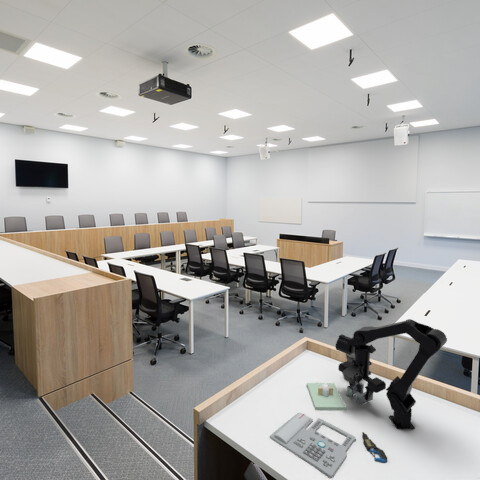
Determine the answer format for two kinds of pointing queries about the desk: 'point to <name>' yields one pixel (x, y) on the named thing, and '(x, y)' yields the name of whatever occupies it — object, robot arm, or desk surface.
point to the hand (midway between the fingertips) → (359, 395)
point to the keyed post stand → (325, 396)
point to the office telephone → (313, 443)
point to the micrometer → (374, 449)
